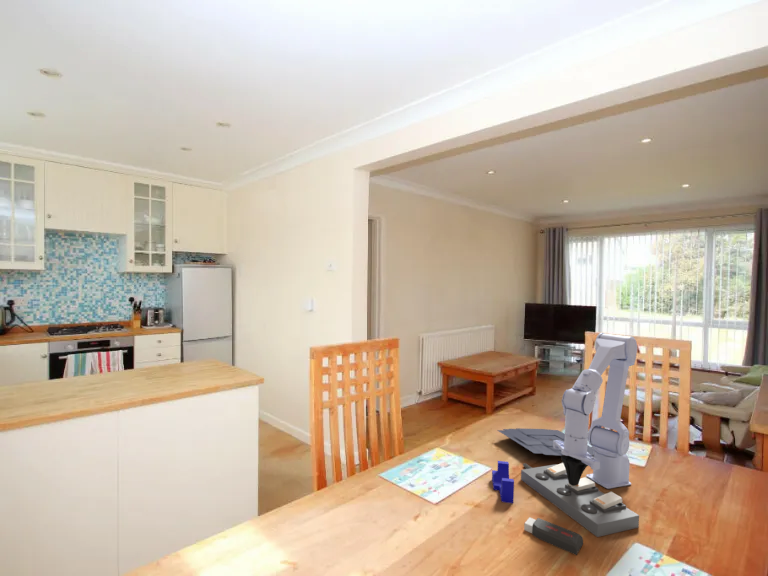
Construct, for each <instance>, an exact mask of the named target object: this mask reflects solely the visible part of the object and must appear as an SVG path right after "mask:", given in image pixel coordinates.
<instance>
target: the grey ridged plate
mask: <svg viewBox="0 0 768 576" xmlns="http://www.w3.org/2000/svg"><path fill="white" fill-rule="evenodd" d="M497 432H499V433H501V435H504V436H505V437H507V438H508V439H510V440H512V441H514V442H516V443H517V444H519V445H520V446H521V447H524V448H525V449H526V450H529V451H530V452H532V453H533V454H543V455H545V456H564V454H562V453H561V450H559V449H558V448H557V449H556V448H554V447H553V441H555V440H560V441H562V442H564V436H565V432H562V431H560V430H558V429H548V428H547V429H546V428H520V427H519V428H518V427H517V428H516V427H515V428H502V430H501V429H500V430H499V429H497ZM587 452H588V453H589V454H590V455H591V456H594V450H593V449H592V446H591V445H588V444H587Z"/></svg>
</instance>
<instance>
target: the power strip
mask: <svg viewBox="0 0 768 576" xmlns="http://www.w3.org/2000/svg"><path fill="white" fill-rule="evenodd" d="M555 465H558V464H556V463H555V464H549V465H543V466H537V467H532V466H530V465H529V464H528V463H526V462H524V463H523V464H522V466H523V468H524V469H521V470H520V480H521V481H523V483H525V484H526V485H527V486H528V487H530V488H531V489H533V490H534V491H536V492H537V493H538V494H539V495H541V496H542V497H543V498H544V499H546V500H547V501H549V502H550V503H551V504H553V505H554V506H555V507H557V508H558V509H559V510H561V511H562V513H565V514H566V515H567V516H568V517H570V518H571V519H573V520H574V521H576V522H577V523H578V524H580V526H582V527H583V528H585V529H586V530H587V531H588V532H590V533H591V534H592V535H593V536H595V537H597V538H599V537H602V536H603V537H604V536H607V535H612V534H617V533H620V532H625V531H629V530H632V529H638V528H639V527H640V526H639V525H640V515H639V514H638V513H636V512H634V511H633V510H631V509H629V508H628V507H627V505H626V504H624V503H623V502H621V503H618V504H616V505H614V506H611V507H609V508H607V509H603V508H601V507H600V506H598V505H597V504H595V503H594V500H593V499H594V498H597V497H599V496H602V495H604V494H605V493H604V492H603V491H600V490H599V487H597V486H596V485H595V486H594V487H590V488H587V489H583V490H579V491H577V490H575V489H574V488H572V487H571V486H569V482H568V477H567V473H564V474H562V475H559V476H555V477H554V476H553V475H551V474H550V473H548V472H547V468H550V467H553V466H555Z"/></svg>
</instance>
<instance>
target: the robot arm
mask: <svg viewBox="0 0 768 576" xmlns="http://www.w3.org/2000/svg"><path fill="white" fill-rule="evenodd" d="M594 346H595V347H594V348H595V353H594V355H593V358H592V360H591V362H590V365H588V369H587V368H585V369H583V370H582V371H581V372H580V374H579V375H578V377H577V379H576V380H575V382H574V384H573V385H572V388H569V389H566V390H564V392H563V394H562V397H561V398H562V399H561V405H562V408H563V409H562V410H563V416H565V419H564V434H565V436H564V442H562V441H560V440H555V441H553V447H554V448H556V449H557V448H558V449H559V450H561V453H562V454H564V455H560V460H561V461H562V462H561V463H563V464H564V466H565V469H566V472H567V477H568V482H569V484H571V485H572V486H575V485H578V484H579V481H580V478H581V477H582V476H583V474H584V471H585V470H586V469H587V467H590V469H591V470H592V473H589V474H586V475H585V477H586V478H588V479H590V480H591V481H593V482H595V484H598V485H600V486H601V487H604V488H605V489H607V490H610V489H615V488H621V487H626V486H631V485H632V482H631V481H629V480H630V458H629V456H628V455H627V453H628V450H629V447H630V430H628V428H627V427H626V426H625V424H623V422H622V421H621V416H622V410H623V405H624V398H625V394H626V393H625V392H626V385H627V380H628V372H629V369H630V367H631V366H635V365H636V364H635V363H636V360H637V353H638V344H637V339H636V338H635V337H634V336H632V335H631V336H627V335H620V334H619V335H618V334H610V333H605V332H600V333H598V334H597V335H596V338H595V342H594ZM608 367H609V370H608V376H607V380H606V388H605V393H604V400H603V406H602V412H601V416H600V417H598V418H596V419H593V420H591V424H590V427H589V423H590V421H589V420H590V414H591V413H592V412H593V410H594V408H595V407H594V406H595V402H596V399H597V398H596V394H597V393H598V391H599V389H600V388H601V386H602V384H603V381H604V380H603V377H602V375H603V374H604V372H605V371H606V370H607V368H608ZM588 444H589V446H590V447H592V449H593V450H594V455H590V454H589V453H588V452H587V445H588Z"/></svg>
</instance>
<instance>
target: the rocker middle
mask: <svg viewBox="0 0 768 576" xmlns="http://www.w3.org/2000/svg"><path fill="white" fill-rule="evenodd" d="M569 486H571V487H572V488H574V489H575V490H577V491H579V490H583V489H587V488H590V487H594V486H595V487H596V482H595V481H593V480H591V479H590V478H588V477H586V476H585V477H582V478H580V481H579V484H578V485H575V486H572V485H571V484H569Z"/></svg>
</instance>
